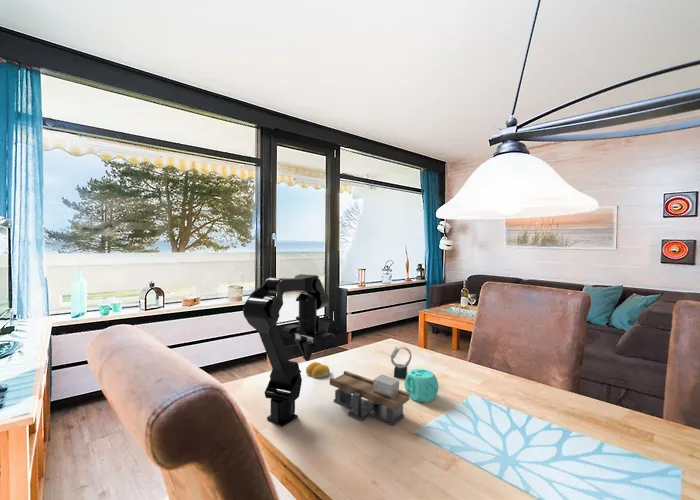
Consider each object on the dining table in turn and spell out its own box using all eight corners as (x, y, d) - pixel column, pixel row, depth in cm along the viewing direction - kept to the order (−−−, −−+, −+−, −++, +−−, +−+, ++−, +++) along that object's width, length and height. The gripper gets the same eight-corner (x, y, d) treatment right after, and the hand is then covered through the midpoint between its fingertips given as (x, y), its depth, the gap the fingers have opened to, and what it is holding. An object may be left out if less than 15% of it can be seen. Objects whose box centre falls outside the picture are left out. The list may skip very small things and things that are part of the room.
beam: (329, 384, 110) (329, 378, 110) (345, 376, 117) (345, 370, 116) (395, 410, 96) (395, 403, 96) (409, 399, 102) (409, 393, 102)
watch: (391, 371, 136) (391, 343, 136) (411, 373, 134) (412, 345, 134) (388, 376, 131) (389, 348, 130) (410, 379, 129) (411, 350, 128)
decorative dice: (438, 399, 113) (439, 375, 113) (419, 404, 110) (419, 379, 109) (422, 389, 121) (423, 366, 120) (403, 394, 117) (404, 370, 116)
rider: (373, 394, 102) (373, 379, 102) (381, 388, 106) (381, 374, 106) (390, 400, 99) (391, 385, 98) (398, 394, 102) (399, 380, 102)
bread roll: (319, 380, 127) (319, 370, 127) (302, 374, 133) (302, 363, 132) (334, 373, 134) (334, 363, 133) (317, 367, 139) (317, 357, 139)
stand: (326, 406, 108) (326, 384, 108) (352, 391, 118) (352, 371, 118) (387, 431, 94) (387, 407, 94) (410, 412, 105) (410, 390, 105)
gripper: (345, 313, 113) (345, 360, 114) (304, 305, 125) (304, 348, 125) (322, 319, 104) (322, 370, 105) (281, 310, 116) (280, 356, 117)
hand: (307, 360), depth 113 cm, fingers closed
